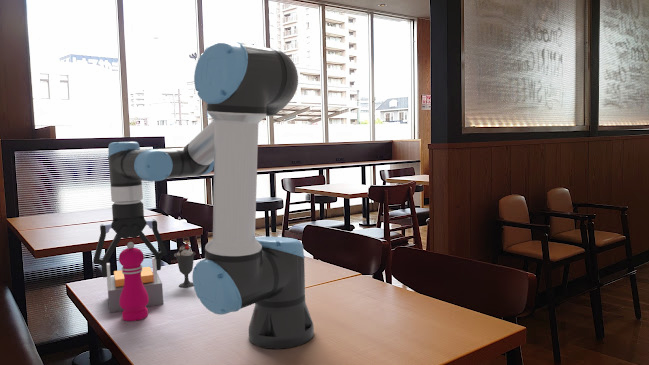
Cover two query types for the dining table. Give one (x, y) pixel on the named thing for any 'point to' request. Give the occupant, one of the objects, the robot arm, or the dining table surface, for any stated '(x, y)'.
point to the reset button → (145, 276)
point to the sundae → (185, 263)
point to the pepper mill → (133, 285)
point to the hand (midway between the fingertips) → (133, 285)
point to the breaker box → (152, 289)
